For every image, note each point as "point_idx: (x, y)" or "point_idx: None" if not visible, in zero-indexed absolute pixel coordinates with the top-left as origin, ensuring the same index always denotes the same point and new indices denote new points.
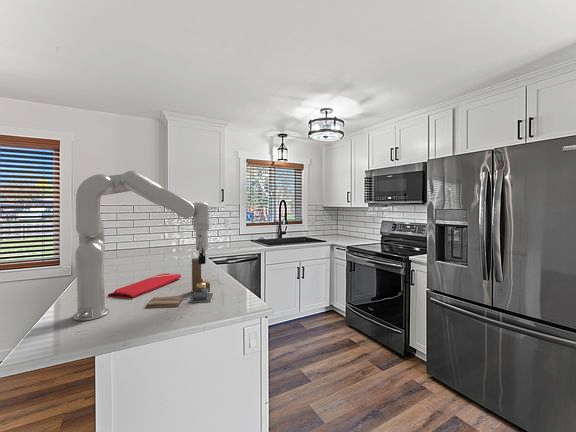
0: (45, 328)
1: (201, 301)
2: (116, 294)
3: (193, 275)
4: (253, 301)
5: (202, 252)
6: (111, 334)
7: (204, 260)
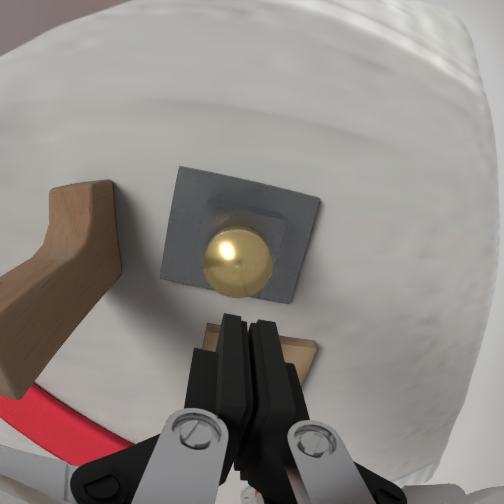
0: None
1: (306, 243)
2: None
3: (80, 318)
4: (378, 11)
5: (403, 501)
6: (421, 435)
7: (278, 360)
